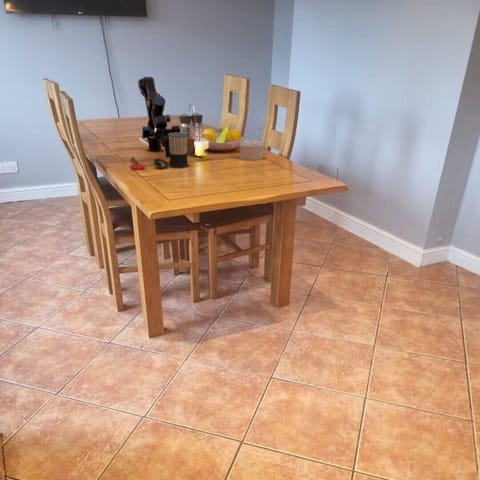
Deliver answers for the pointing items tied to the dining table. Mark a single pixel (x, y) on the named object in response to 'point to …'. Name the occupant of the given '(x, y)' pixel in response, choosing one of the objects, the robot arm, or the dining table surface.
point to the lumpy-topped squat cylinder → (251, 150)
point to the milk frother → (174, 151)
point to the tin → (191, 147)
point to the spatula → (137, 165)
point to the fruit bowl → (223, 139)
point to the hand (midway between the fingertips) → (164, 146)
